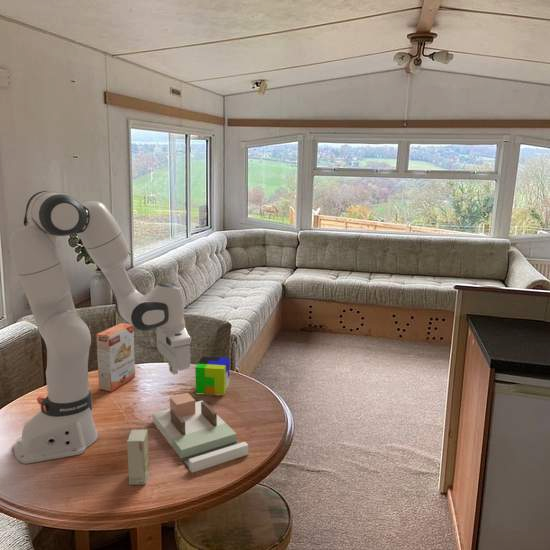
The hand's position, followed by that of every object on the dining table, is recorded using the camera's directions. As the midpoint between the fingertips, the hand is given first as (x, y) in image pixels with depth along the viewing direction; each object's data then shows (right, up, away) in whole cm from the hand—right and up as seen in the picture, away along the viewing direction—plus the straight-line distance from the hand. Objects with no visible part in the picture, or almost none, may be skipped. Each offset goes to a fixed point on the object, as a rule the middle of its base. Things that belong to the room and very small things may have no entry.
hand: (173, 372), depth 169 cm
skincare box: (-2, -21, -33) cm, 40 cm away
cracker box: (-24, -8, +21) cm, 33 cm away
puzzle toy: (+10, -9, +18) cm, 23 cm away
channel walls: (+8, -13, -12) cm, 20 cm away
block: (+4, -11, -5) cm, 13 cm away
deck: (+10, -17, -14) cm, 24 cm away
